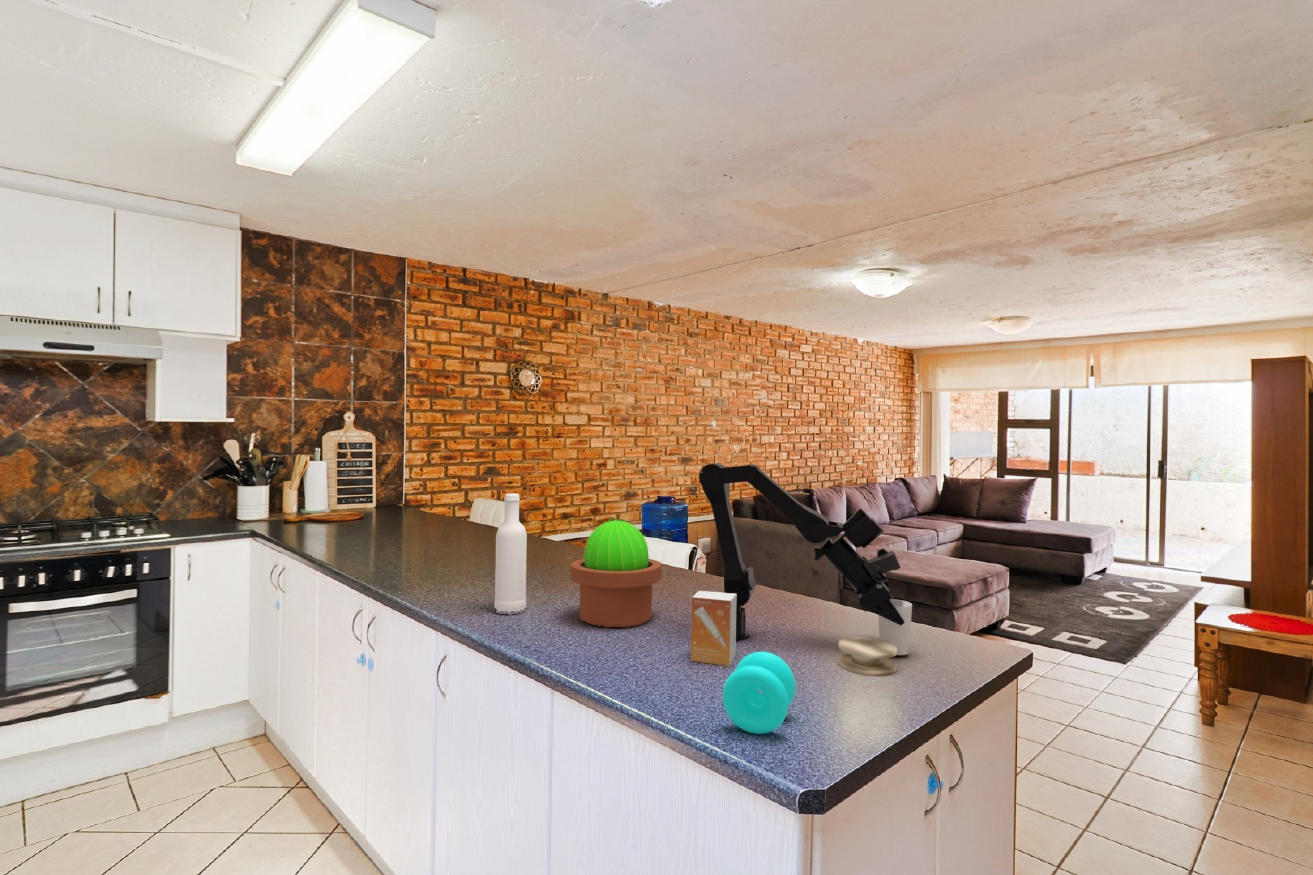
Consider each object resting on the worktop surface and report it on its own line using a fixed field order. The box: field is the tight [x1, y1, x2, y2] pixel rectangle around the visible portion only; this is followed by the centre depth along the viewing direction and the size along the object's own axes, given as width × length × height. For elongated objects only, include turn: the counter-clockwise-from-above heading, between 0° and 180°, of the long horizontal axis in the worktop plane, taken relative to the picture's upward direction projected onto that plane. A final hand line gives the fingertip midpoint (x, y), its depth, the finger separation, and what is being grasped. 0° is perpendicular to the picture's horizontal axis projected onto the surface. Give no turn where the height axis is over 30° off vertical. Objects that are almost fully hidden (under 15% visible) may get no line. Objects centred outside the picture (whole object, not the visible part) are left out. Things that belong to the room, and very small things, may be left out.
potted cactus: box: [570, 518, 663, 629], centre depth 159 cm, size 22×22×25 cm
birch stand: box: [838, 636, 898, 677], centre depth 127 cm, size 11×11×4 cm
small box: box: [690, 590, 737, 667], centre depth 130 cm, size 8×6×13 cm
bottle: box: [494, 493, 528, 612], centre depth 164 cm, size 8×8×30 cm
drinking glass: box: [878, 598, 913, 656], centre depth 134 cm, size 7×7×10 cm
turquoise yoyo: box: [722, 651, 797, 735], centre depth 100 cm, size 10×10×10 cm
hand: (901, 619), depth 134 cm, fingers closed on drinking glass, 6 cm apart
